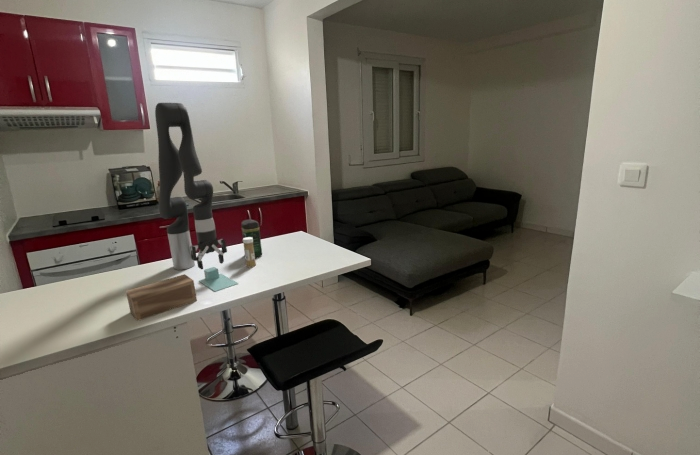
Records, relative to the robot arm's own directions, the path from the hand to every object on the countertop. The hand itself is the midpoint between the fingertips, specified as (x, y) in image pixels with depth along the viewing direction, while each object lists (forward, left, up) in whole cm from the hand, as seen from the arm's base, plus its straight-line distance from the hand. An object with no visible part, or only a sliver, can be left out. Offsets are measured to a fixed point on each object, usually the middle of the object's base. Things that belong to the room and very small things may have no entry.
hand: (211, 265), depth 151 cm
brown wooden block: (+11, -23, -6) cm, 26 cm away
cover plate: (+5, 0, -7) cm, 8 cm away
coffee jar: (-15, +27, -6) cm, 31 cm away
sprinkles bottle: (-3, +19, -6) cm, 20 cm away
